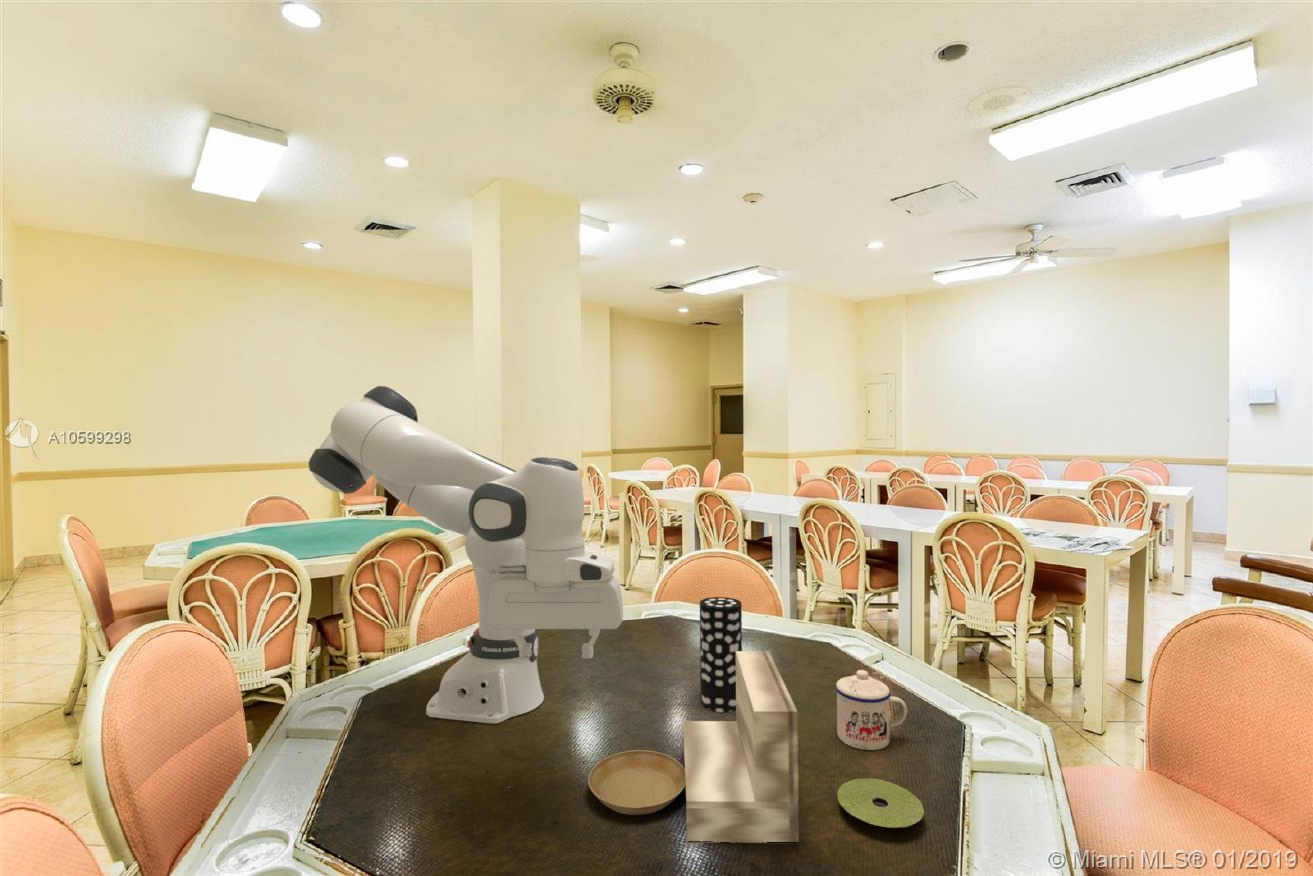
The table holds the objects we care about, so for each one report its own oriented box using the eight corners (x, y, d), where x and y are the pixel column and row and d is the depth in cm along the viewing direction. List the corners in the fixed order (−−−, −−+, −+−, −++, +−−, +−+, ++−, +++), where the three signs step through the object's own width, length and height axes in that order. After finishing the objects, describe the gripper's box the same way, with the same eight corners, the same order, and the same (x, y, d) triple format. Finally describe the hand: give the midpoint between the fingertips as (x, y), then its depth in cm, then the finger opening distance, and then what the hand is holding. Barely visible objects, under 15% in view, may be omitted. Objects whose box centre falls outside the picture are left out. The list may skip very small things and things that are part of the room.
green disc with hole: (853, 842, 76) (852, 827, 76) (827, 791, 87) (827, 778, 87) (939, 841, 76) (939, 826, 76) (902, 790, 87) (902, 777, 87)
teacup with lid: (842, 751, 98) (841, 681, 98) (830, 725, 107) (830, 661, 107) (916, 753, 97) (915, 683, 97) (898, 727, 106) (897, 663, 106)
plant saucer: (707, 801, 85) (707, 783, 85) (619, 840, 77) (618, 820, 77) (653, 756, 98) (652, 741, 98) (571, 785, 90) (571, 768, 90)
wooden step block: (686, 842, 76) (685, 711, 76) (683, 752, 98) (682, 651, 98) (798, 843, 76) (797, 711, 76) (770, 753, 98) (769, 651, 98)
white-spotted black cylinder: (741, 714, 112) (740, 609, 112) (698, 710, 114) (697, 607, 114) (743, 695, 120) (742, 598, 120) (703, 692, 122) (702, 596, 122)
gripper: (480, 570, 86) (481, 664, 86) (619, 569, 85) (620, 665, 85) (494, 561, 92) (495, 649, 92) (623, 560, 91) (624, 649, 91)
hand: (556, 657), depth 88 cm, fingers open, 8 cm apart
